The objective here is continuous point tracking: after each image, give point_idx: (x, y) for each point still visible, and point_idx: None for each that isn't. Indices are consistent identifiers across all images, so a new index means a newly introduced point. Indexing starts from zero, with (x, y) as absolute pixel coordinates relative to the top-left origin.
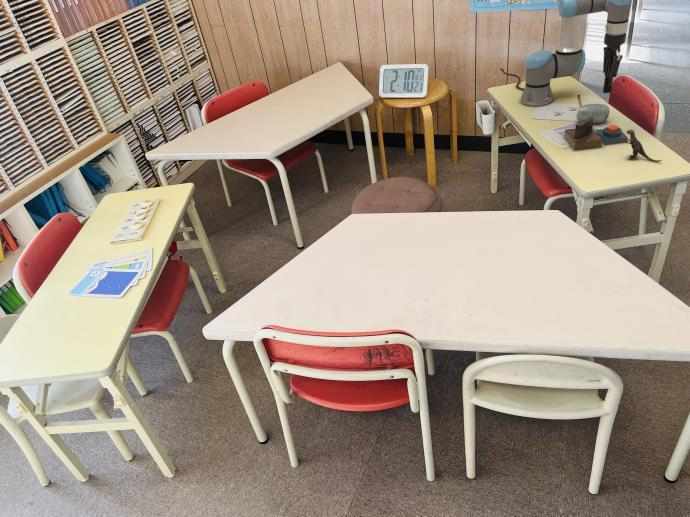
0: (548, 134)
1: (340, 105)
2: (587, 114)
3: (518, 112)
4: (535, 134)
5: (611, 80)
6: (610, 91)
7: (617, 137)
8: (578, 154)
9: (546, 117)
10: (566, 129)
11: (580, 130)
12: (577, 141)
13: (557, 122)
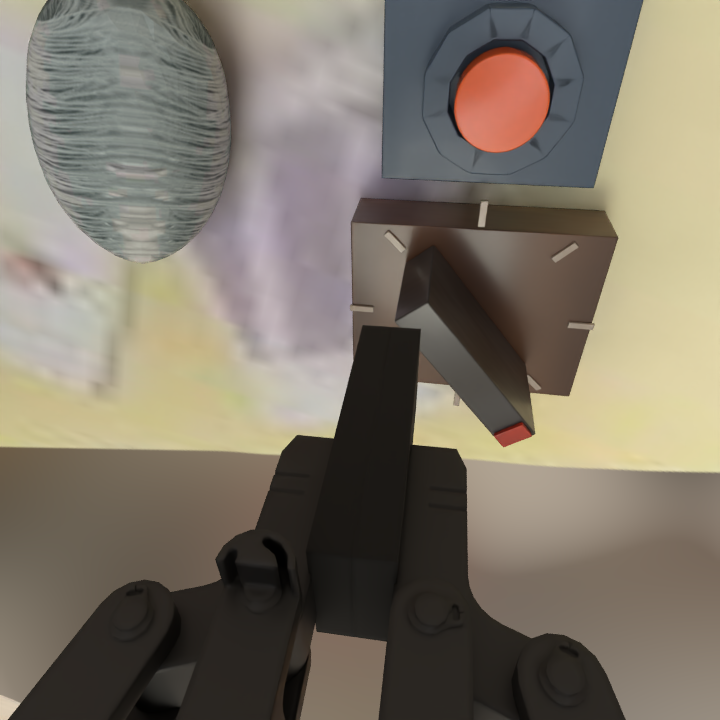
0: (306, 395)
1: (3, 711)
2: (195, 210)
3: (19, 419)
4: (291, 439)
5: (462, 550)
6: (419, 345)
7: (592, 74)
8: (616, 360)
9: (80, 335)
10: None
11: (525, 396)
12: (551, 378)
13: (154, 309)
